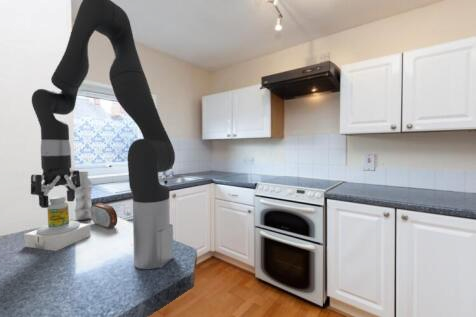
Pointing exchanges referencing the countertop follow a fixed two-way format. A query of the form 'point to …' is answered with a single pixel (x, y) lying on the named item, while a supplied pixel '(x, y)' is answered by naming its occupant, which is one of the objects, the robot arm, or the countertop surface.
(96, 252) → the countertop surface
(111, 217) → the tin
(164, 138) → the robot arm
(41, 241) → the kitchen scale
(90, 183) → the plastic bottle
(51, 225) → the supplement bottle
